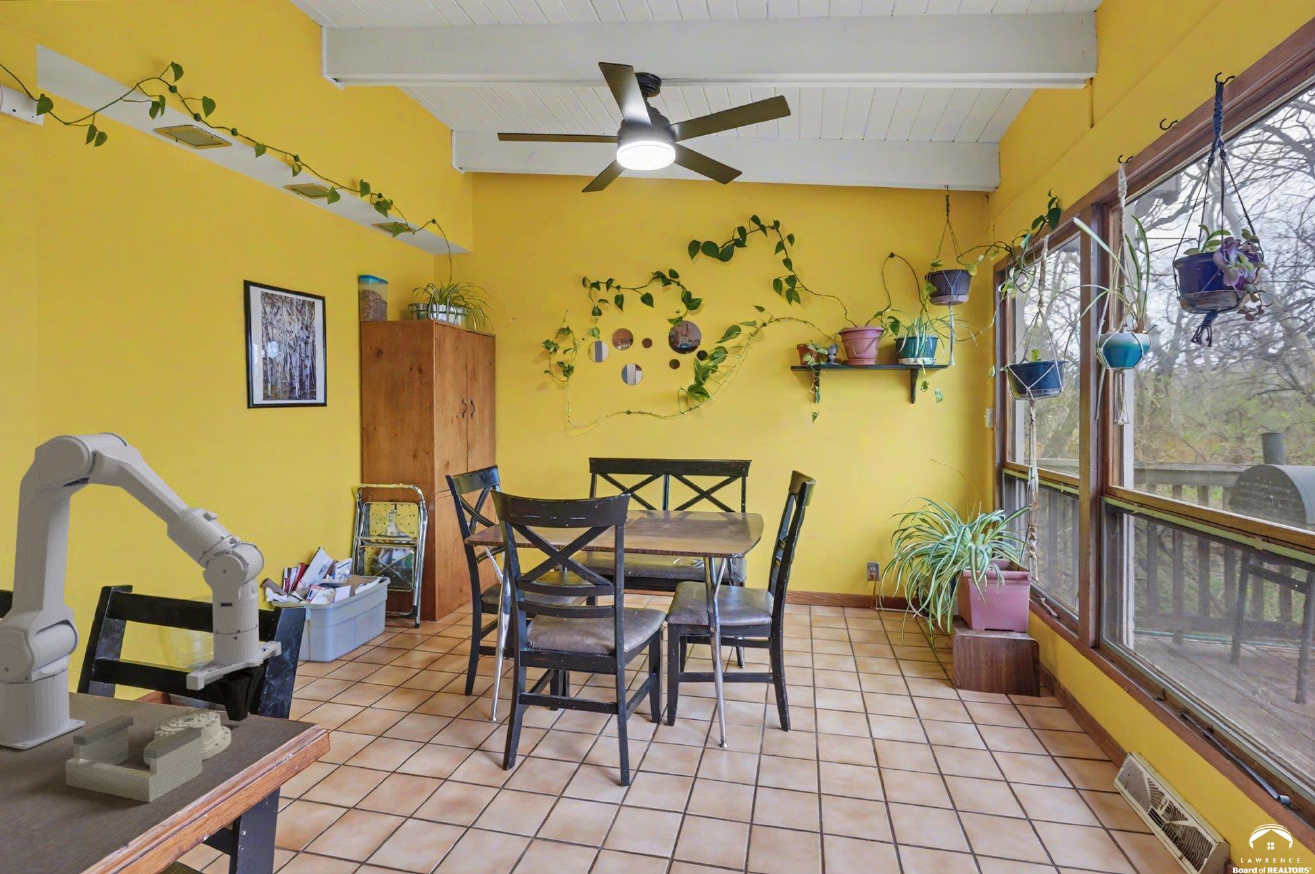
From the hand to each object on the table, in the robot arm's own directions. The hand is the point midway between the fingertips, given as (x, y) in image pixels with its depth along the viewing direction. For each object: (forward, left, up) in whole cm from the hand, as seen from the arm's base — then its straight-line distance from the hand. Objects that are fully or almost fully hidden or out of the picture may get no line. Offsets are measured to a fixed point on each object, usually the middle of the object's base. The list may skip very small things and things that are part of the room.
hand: (237, 718), depth 103 cm
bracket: (0, -15, -1) cm, 15 cm away
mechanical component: (0, -7, -2) cm, 8 cm away
